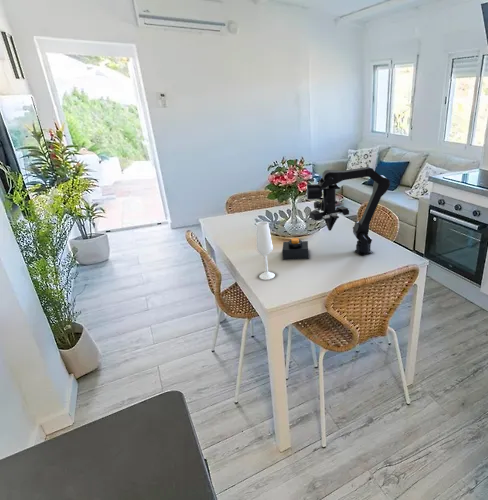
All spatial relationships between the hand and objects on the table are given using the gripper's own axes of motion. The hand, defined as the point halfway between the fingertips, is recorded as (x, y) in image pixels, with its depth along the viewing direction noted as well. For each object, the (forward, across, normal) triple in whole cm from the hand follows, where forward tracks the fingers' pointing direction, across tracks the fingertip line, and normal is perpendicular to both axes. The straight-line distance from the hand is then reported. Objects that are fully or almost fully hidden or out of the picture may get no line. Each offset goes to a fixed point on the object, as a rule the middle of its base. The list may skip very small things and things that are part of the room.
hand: (329, 230), depth 166 cm
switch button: (+6, +14, -9) cm, 18 cm away
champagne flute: (+13, +34, +4) cm, 37 cm away
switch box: (+13, +14, -9) cm, 21 cm away
